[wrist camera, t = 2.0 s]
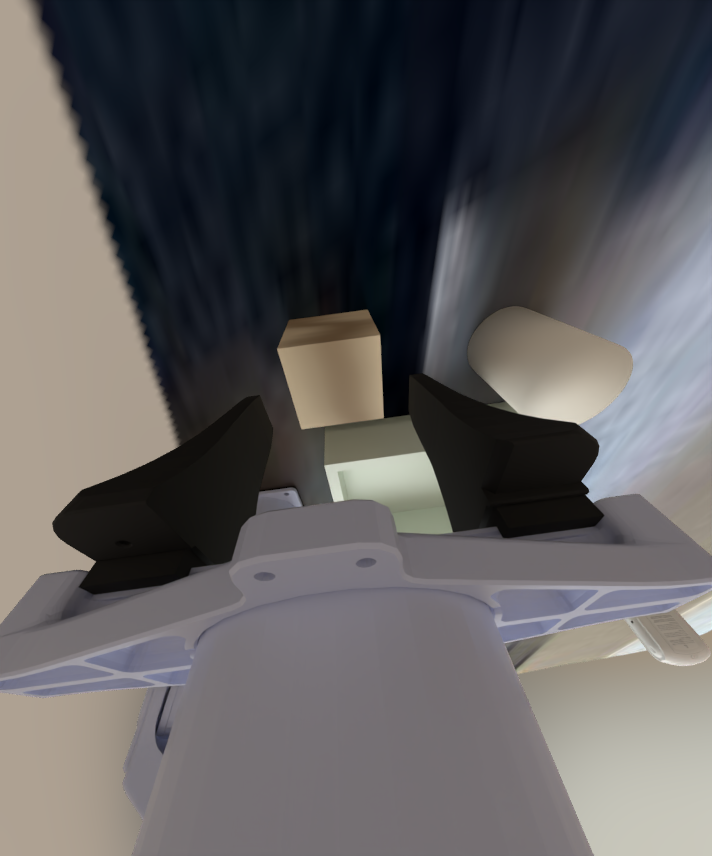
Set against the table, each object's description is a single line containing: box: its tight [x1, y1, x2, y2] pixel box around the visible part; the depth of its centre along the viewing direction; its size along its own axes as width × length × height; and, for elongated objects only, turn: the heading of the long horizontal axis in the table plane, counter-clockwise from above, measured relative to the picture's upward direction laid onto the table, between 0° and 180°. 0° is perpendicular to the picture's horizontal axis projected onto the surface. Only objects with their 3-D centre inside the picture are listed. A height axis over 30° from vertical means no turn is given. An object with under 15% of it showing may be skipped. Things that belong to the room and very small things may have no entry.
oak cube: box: [277, 310, 384, 429], centre depth 16 cm, size 5×5×5 cm
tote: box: [324, 402, 519, 534], centre depth 24 cm, size 18×14×4 cm
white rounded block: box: [624, 609, 711, 666], centre depth 53 cm, size 10×4×12 cm, turn 91°
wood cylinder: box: [467, 306, 633, 425], centre depth 16 cm, size 5×5×7 cm
